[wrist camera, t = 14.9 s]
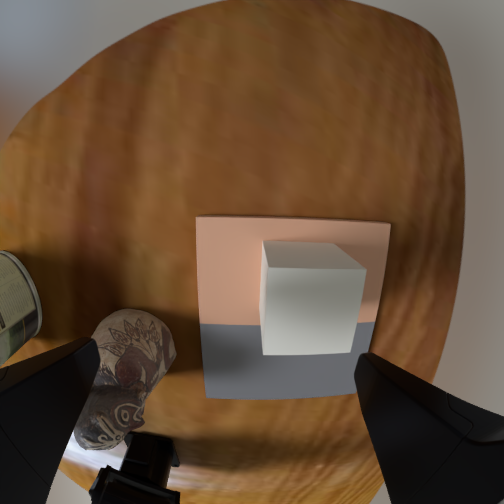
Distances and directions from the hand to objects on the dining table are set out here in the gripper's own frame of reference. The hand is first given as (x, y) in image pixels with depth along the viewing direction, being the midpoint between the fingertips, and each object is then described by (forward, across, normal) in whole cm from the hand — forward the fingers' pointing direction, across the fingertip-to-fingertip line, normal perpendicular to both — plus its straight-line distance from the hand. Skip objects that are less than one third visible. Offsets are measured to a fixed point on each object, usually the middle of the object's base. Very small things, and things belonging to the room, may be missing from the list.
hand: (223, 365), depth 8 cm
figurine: (+13, +9, +8) cm, 17 cm away
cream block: (+11, -4, +1) cm, 12 cm away
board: (+12, -4, +5) cm, 14 cm away
